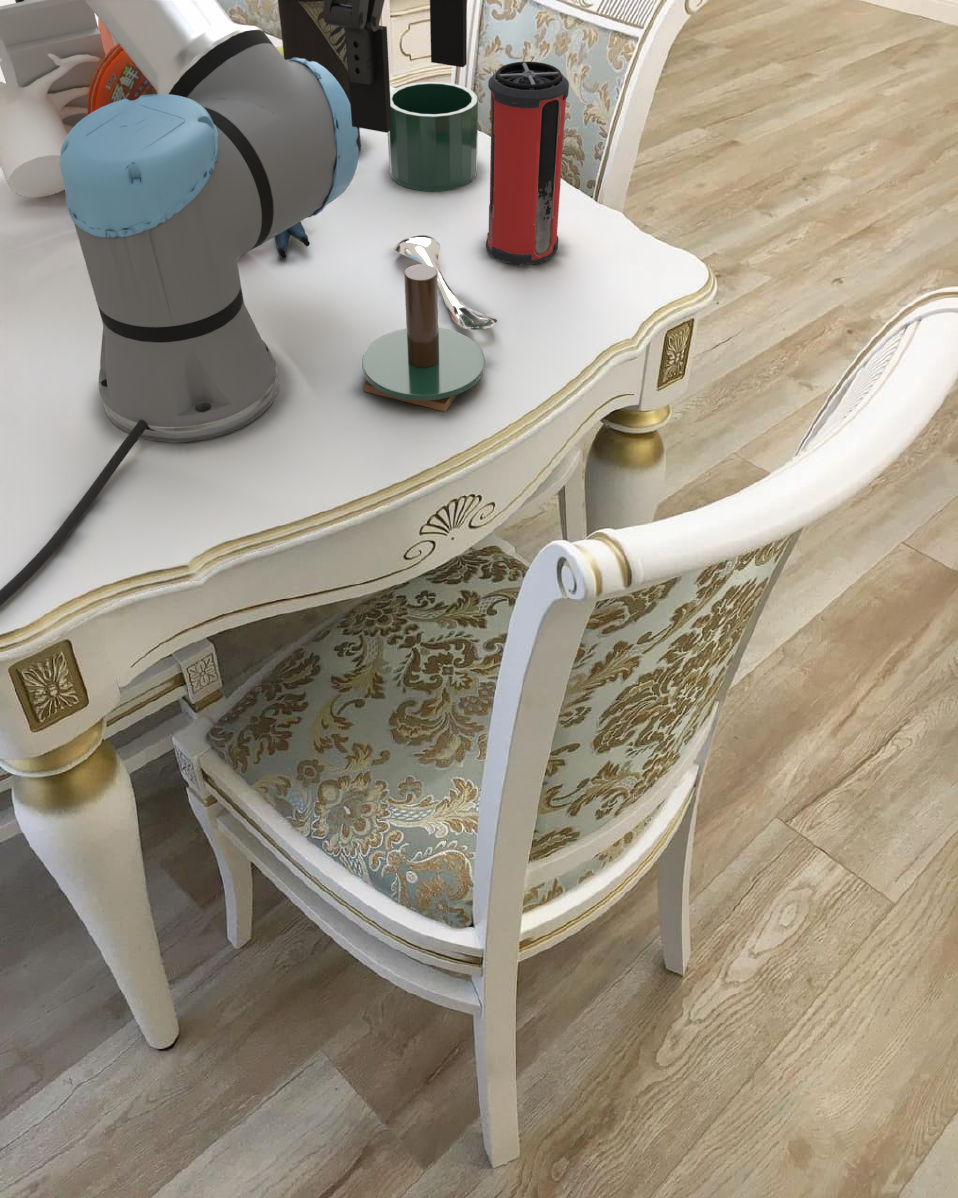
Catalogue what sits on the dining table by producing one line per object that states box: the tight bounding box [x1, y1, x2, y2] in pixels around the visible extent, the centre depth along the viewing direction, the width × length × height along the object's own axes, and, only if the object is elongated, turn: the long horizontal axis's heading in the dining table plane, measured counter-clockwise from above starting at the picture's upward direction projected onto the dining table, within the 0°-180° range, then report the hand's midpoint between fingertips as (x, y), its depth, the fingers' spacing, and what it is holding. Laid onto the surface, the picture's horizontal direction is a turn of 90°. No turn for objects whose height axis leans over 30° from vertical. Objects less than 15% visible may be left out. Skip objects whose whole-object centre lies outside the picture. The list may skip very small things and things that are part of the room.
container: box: [277, 0, 362, 151], centre depth 121 cm, size 9×9×20 cm
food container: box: [87, 43, 157, 115], centre depth 116 cm, size 16×16×11 cm
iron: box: [0, 0, 106, 126], centre depth 117 cm, size 11×24×15 cm
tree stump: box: [0, 54, 100, 199], centre depth 115 cm, size 20×19×8 cm
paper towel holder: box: [361, 263, 486, 401], centre depth 90 cm, size 11×11×10 cm
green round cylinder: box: [387, 81, 479, 192], centre depth 121 cm, size 10×10×8 cm
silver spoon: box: [393, 234, 498, 331], centre depth 103 cm, size 20×4×5 cm
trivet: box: [362, 379, 459, 412], centre depth 94 cm, size 8×8×1 cm
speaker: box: [485, 61, 570, 267], centre depth 104 cm, size 8×8×18 cm
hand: (412, 94), depth 76 cm, fingers open, 13 cm apart
